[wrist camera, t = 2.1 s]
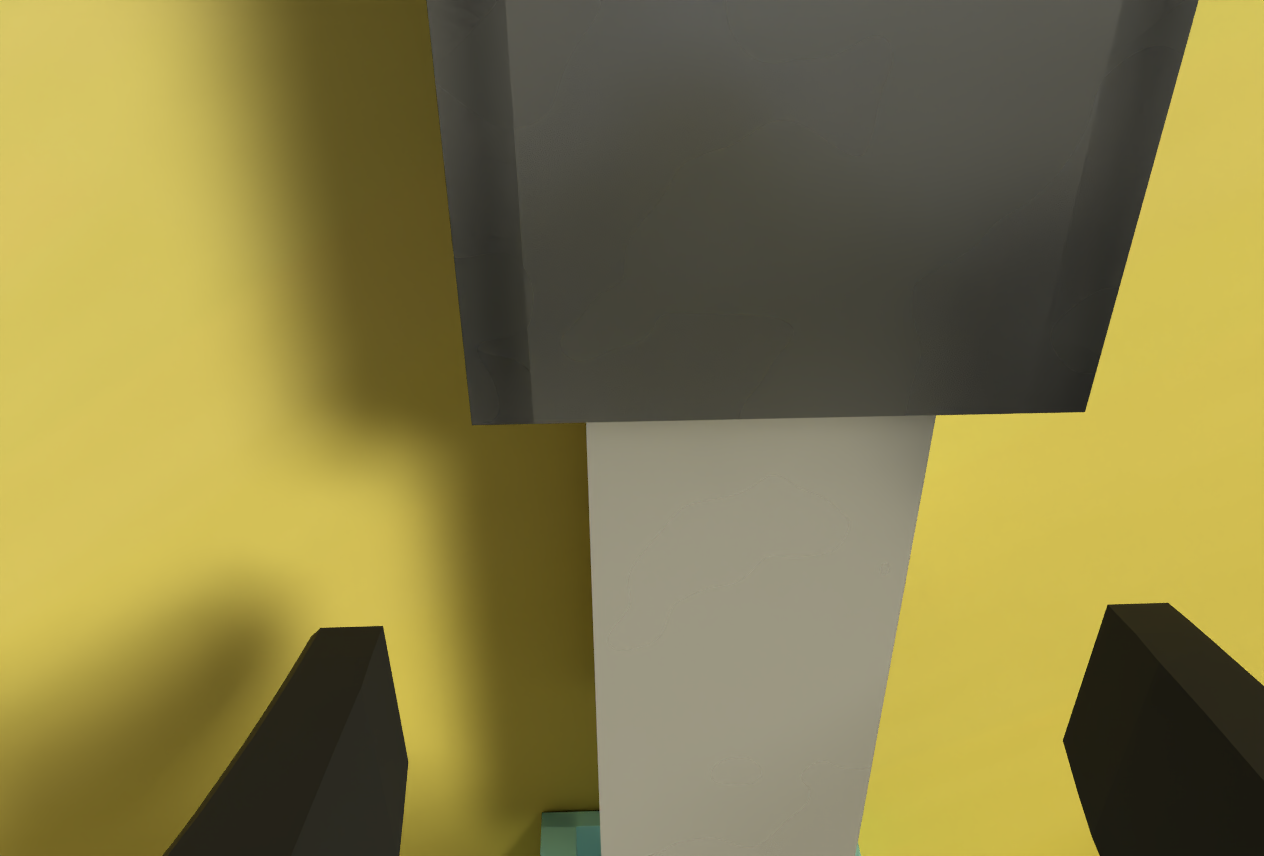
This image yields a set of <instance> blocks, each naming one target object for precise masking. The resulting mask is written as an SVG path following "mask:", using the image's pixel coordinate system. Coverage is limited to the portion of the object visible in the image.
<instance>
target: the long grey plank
mask: <svg viewBox="0 0 1264 856" xmlns="http://www.w3.org/2000/svg"><path fill="white" fill-rule="evenodd" d="M935 418H936V415H920V416H873V417H826V418H779V419H733V420H686V421H639V422H592V423H586V436H587V465H588V493H589V522H590V550H591V579H592V607H593V636H594V664H595V692H596V721H597V749H598V778H599V806H600V835H601V856H855V853H856V848H857V843H858V837H859V832H860V826H861V821H862V815H863V810H864V804H865V799H866V794H867V788H868V783H869V777H870V772H871V766H872V761H873V755H874V750H875V744H876V739H877V734H878V728H879V723H880V717H881V712H882V706H883V701H884V695H885V690H886V685H887V679H888V674H889V668H890V663H891V657H892V652H893V646H894V641H895V636H896V630H897V625H898V619H899V614H900V608H901V603H902V597H903V592H904V586H905V581H906V576H907V570H908V565H909V559H910V554H911V548H912V543H913V537H914V532H915V527H916V521H917V516H918V510H919V505H920V499H921V494H922V488H923V483H924V477H925V472H926V467H927V461H928V456H929V450H930V445H931V439H932V434H933V428H934V423H935Z"/></svg>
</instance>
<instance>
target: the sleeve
mask: <svg viewBox="0 0 1264 856" xmlns="http://www.w3.org/2000/svg"><path fill="white" fill-rule="evenodd" d="M1197 4H1198V0H427V9H428V19H429V28H430V37H431V47H432V56H433V65H434V75H435V84H436V93H437V103H438V112H439V121H440V131H441V140H442V150H443V159H444V168H445V178H446V187H447V196H448V206H449V215H450V224H451V234H452V243H453V252H454V262H455V271H456V281H457V290H458V299H459V309H460V318H461V327H462V337H463V346H464V355H465V365H466V374H467V383H468V393H469V402H470V412H471V421H472V425H499V424H546V423H592V422H639V421H686V420H733V419H779V418H826V417H873V416H920V415H966V414H1013V413H1060V412H1085V410H1086V406H1087V402H1088V399H1089V395H1090V392H1091V388H1092V384H1093V381H1094V377H1095V373H1096V370H1097V366H1098V363H1099V359H1100V355H1101V352H1102V348H1103V344H1104V341H1105V337H1106V334H1107V330H1108V326H1109V323H1110V319H1111V315H1112V312H1113V308H1114V305H1115V301H1116V297H1117V294H1118V290H1119V286H1120V283H1121V279H1122V276H1123V272H1124V268H1125V265H1126V261H1127V257H1128V254H1129V250H1130V247H1131V243H1132V239H1133V236H1134V232H1135V228H1136V225H1137V221H1138V218H1139V214H1140V210H1141V207H1142V203H1143V200H1144V196H1145V192H1146V189H1147V185H1148V181H1149V178H1150V174H1151V171H1152V167H1153V163H1154V160H1155V156H1156V152H1157V149H1158V145H1159V142H1160V138H1161V134H1162V131H1163V127H1164V123H1165V120H1166V116H1167V113H1168V109H1169V105H1170V102H1171V98H1172V94H1173V91H1174V87H1175V84H1176V80H1177V76H1178V73H1179V69H1180V65H1181V62H1182V58H1183V55H1184V51H1185V47H1186V44H1187V40H1188V36H1189V33H1190V29H1191V26H1192V22H1193V18H1194V15H1195V11H1196V7H1197Z"/></svg>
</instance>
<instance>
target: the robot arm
mask: <svg viewBox="0 0 1264 856" xmlns="http://www.w3.org/2000/svg"><path fill="white" fill-rule="evenodd" d="M1063 743H1064V746H1065V749H1066V753H1067V756H1068V760H1069V763H1070V767H1071V770H1072V774H1073V777H1074V781H1075V784H1076V788H1077V791H1078V795H1079V798H1080V801H1081V804H1082V807H1083V810H1084V813H1085V817H1086V820H1087V823H1088V826H1089V829H1090V832H1091V835H1092V838H1093V840H1094V843H1095V845H1096V848H1097V850H1098V852H1099V855H1100V856H1264V686H1263V685H1262V684H1261V683H1260V682H1259V681H1257V680H1256V679H1255V678H1254V677H1253V676H1252V675H1251V674H1249V673H1248V672H1247V671H1246V670H1245V669H1244V668H1243V667H1242V666H1240V665H1239V664H1238V663H1237V662H1236V661H1235V660H1234V659H1233V658H1231V657H1230V656H1229V655H1228V654H1227V653H1226V652H1225V651H1223V650H1222V649H1221V648H1220V647H1219V646H1218V645H1217V644H1216V643H1214V642H1213V641H1212V640H1211V639H1210V638H1209V637H1208V636H1206V635H1205V634H1204V633H1203V632H1202V631H1201V630H1200V629H1198V628H1197V627H1196V626H1195V625H1194V624H1193V623H1191V622H1190V621H1189V620H1188V619H1187V618H1186V617H1184V616H1183V615H1182V614H1181V613H1180V612H1178V611H1177V610H1176V609H1175V608H1174V607H1172V606H1171V605H1170V604H1169V603H1149V604H1115V605H1107V608H1106V611H1105V614H1104V617H1103V620H1102V624H1101V627H1100V630H1099V633H1098V636H1097V639H1096V642H1095V645H1094V648H1093V651H1092V654H1091V657H1090V660H1089V663H1088V666H1087V669H1086V672H1085V675H1084V678H1083V681H1082V684H1081V687H1080V690H1079V693H1078V696H1077V699H1076V702H1075V705H1074V708H1073V711H1072V714H1071V717H1070V720H1069V723H1068V726H1067V729H1066V732H1065V735H1064V738H1063ZM407 770H408V758H407V752H406V747H405V742H404V736H403V731H402V726H401V720H400V715H399V710H398V704H397V699H396V694H395V688H394V683H393V677H392V672H391V667H390V661H389V656H388V651H387V645H386V640H385V635H384V629H383V626H370V627H336V628H320V629H319V630H318V631H317V632H316V633H315V634H314V635H312V636H311V638H310V639H309V641H308V643H307V644H306V646H305V648H304V649H303V651H302V653H301V655H300V656H299V658H298V660H297V661H296V663H295V664H294V666H293V668H292V669H291V671H290V673H289V674H288V676H287V678H286V679H285V681H284V682H283V684H282V686H281V687H280V689H279V690H278V692H277V694H276V695H275V697H274V698H273V700H272V701H271V703H270V704H269V706H268V708H267V709H266V711H265V712H264V714H263V715H262V717H261V718H260V720H259V721H258V723H257V724H256V726H255V727H254V729H253V730H252V732H251V733H250V735H249V736H248V738H247V740H246V741H245V743H244V744H243V746H242V747H241V749H240V750H239V751H238V753H237V754H236V756H235V757H234V758H233V760H232V761H231V763H230V764H229V766H228V767H227V768H226V770H225V771H224V773H223V774H222V776H221V777H220V778H219V780H218V781H217V783H216V784H215V785H214V787H213V788H212V790H211V791H210V793H209V794H208V795H207V797H206V798H205V800H204V801H203V803H202V804H201V805H200V807H199V808H198V810H197V811H196V812H195V814H194V815H193V817H192V818H191V819H190V821H189V822H188V823H187V825H186V826H185V827H184V829H183V830H182V831H181V833H180V834H179V835H178V837H177V838H176V839H175V840H174V842H173V843H172V844H171V846H170V847H169V848H168V849H167V851H166V852H165V853H164V855H163V856H399V852H400V843H401V833H402V824H403V814H404V803H405V792H406V781H407Z"/></svg>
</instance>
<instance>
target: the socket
mask: <svg viewBox="0 0 1264 856" xmlns="http://www.w3.org/2000/svg"><path fill="white" fill-rule="evenodd" d="M540 856H601V835H600V811H583V812H548V813H542V824H541V847H540ZM855 856H861V855H860V850H859V846H858V843H857V848H856V853H855Z"/></svg>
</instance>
